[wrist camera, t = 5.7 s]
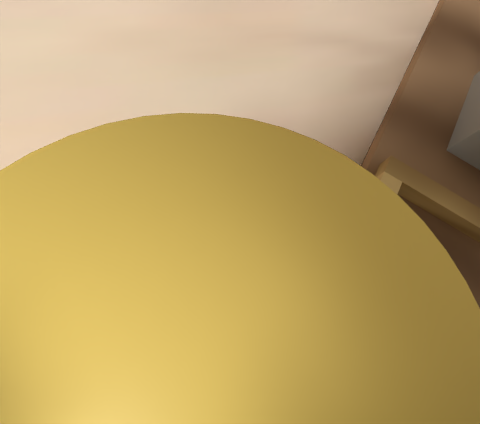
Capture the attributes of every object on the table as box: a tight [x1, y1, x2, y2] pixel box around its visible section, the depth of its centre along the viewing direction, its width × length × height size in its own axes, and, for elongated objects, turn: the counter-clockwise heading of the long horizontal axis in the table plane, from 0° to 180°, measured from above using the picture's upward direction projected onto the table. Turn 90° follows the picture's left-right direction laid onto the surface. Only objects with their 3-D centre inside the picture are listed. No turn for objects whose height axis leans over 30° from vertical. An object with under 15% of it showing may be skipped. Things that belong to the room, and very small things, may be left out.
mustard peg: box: [0, 113, 480, 424], centre depth 8 cm, size 6×6×11 cm
